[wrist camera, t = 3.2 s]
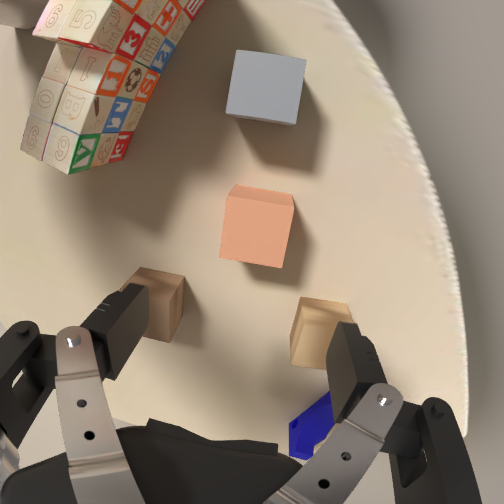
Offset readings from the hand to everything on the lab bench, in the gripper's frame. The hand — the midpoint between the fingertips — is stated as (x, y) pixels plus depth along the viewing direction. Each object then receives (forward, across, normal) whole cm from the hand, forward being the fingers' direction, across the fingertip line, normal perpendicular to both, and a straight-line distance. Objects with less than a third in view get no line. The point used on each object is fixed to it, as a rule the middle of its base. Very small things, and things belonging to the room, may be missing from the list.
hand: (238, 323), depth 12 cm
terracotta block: (+17, 0, 0) cm, 17 cm away
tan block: (+16, +9, +10) cm, 21 cm away
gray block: (+16, +1, -11) cm, 20 cm away
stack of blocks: (+17, +14, -15) cm, 26 cm away
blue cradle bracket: (+17, -14, +24) cm, 33 cm away
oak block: (+17, -8, +10) cm, 21 cm away
